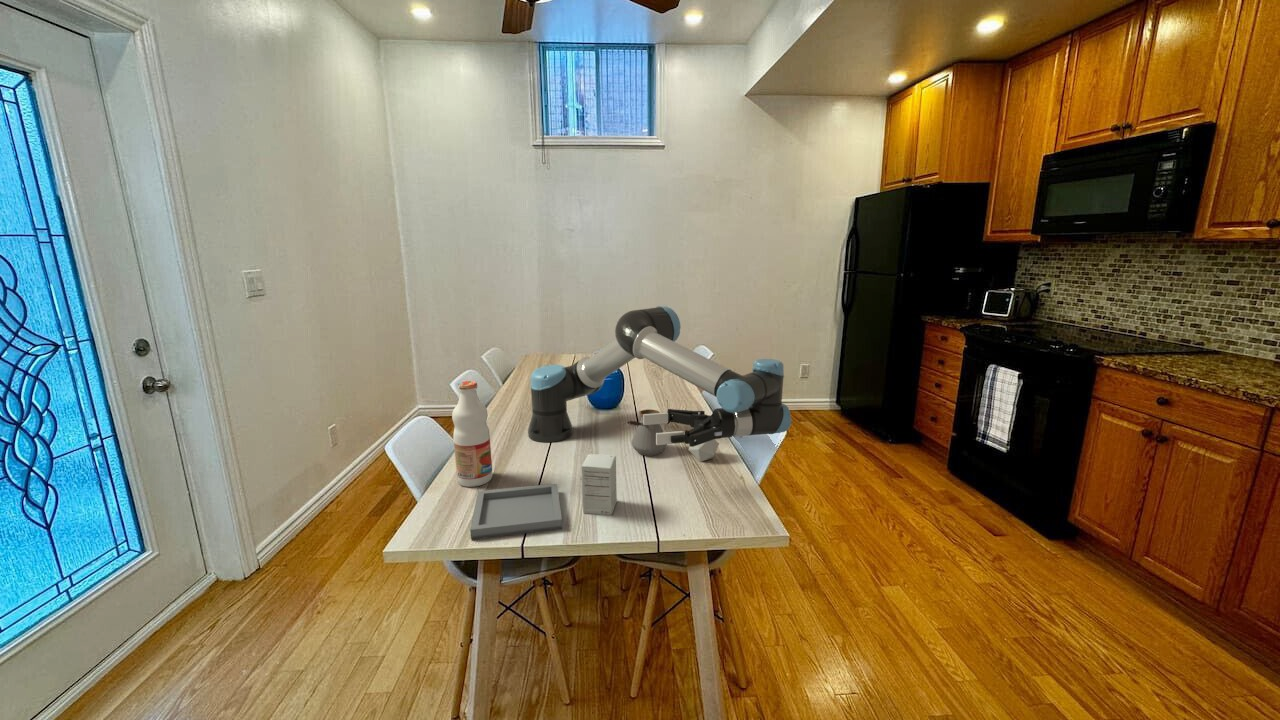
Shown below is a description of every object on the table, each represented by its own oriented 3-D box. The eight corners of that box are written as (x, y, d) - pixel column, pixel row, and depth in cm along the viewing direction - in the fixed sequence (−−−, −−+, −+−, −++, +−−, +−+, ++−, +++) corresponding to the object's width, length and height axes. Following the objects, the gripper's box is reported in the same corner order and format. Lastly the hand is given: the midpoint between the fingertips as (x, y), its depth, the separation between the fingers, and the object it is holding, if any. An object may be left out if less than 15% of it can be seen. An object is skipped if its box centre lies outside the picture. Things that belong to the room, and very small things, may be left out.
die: (706, 452, 158) (688, 430, 156) (727, 445, 153) (709, 422, 151) (697, 470, 152) (679, 447, 150) (719, 464, 147) (700, 440, 145)
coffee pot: (640, 441, 165) (640, 398, 162) (672, 447, 160) (673, 403, 157) (609, 466, 147) (608, 418, 143) (644, 474, 142) (644, 425, 138)
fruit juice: (458, 474, 142) (450, 379, 135) (492, 470, 144) (486, 377, 138) (456, 489, 133) (446, 389, 126) (492, 485, 135) (485, 386, 129)
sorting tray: (478, 500, 127) (478, 491, 127) (557, 492, 132) (557, 483, 131) (471, 539, 110) (470, 529, 110) (561, 529, 114) (561, 519, 114)
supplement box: (589, 498, 128) (588, 453, 125) (617, 500, 127) (616, 454, 124) (582, 513, 121) (580, 465, 118) (611, 515, 120) (611, 467, 117)
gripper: (750, 455, 116) (662, 464, 111) (712, 419, 139) (638, 425, 135) (752, 425, 114) (662, 432, 110) (713, 394, 138) (638, 399, 133)
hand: (649, 428), depth 122 cm, fingers open, 13 cm apart
